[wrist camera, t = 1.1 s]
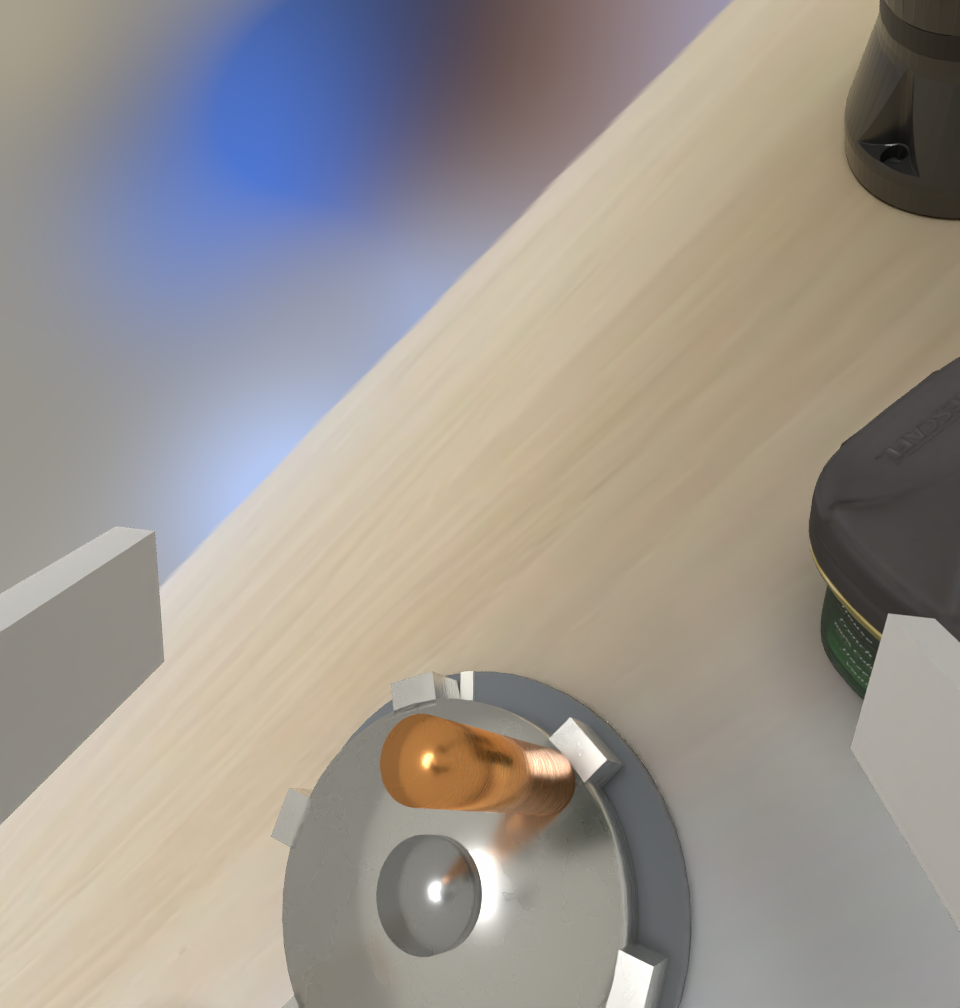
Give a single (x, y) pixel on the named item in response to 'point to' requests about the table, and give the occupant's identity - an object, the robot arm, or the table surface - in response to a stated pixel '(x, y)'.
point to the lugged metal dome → (463, 866)
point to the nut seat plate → (634, 802)
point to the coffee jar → (891, 524)
